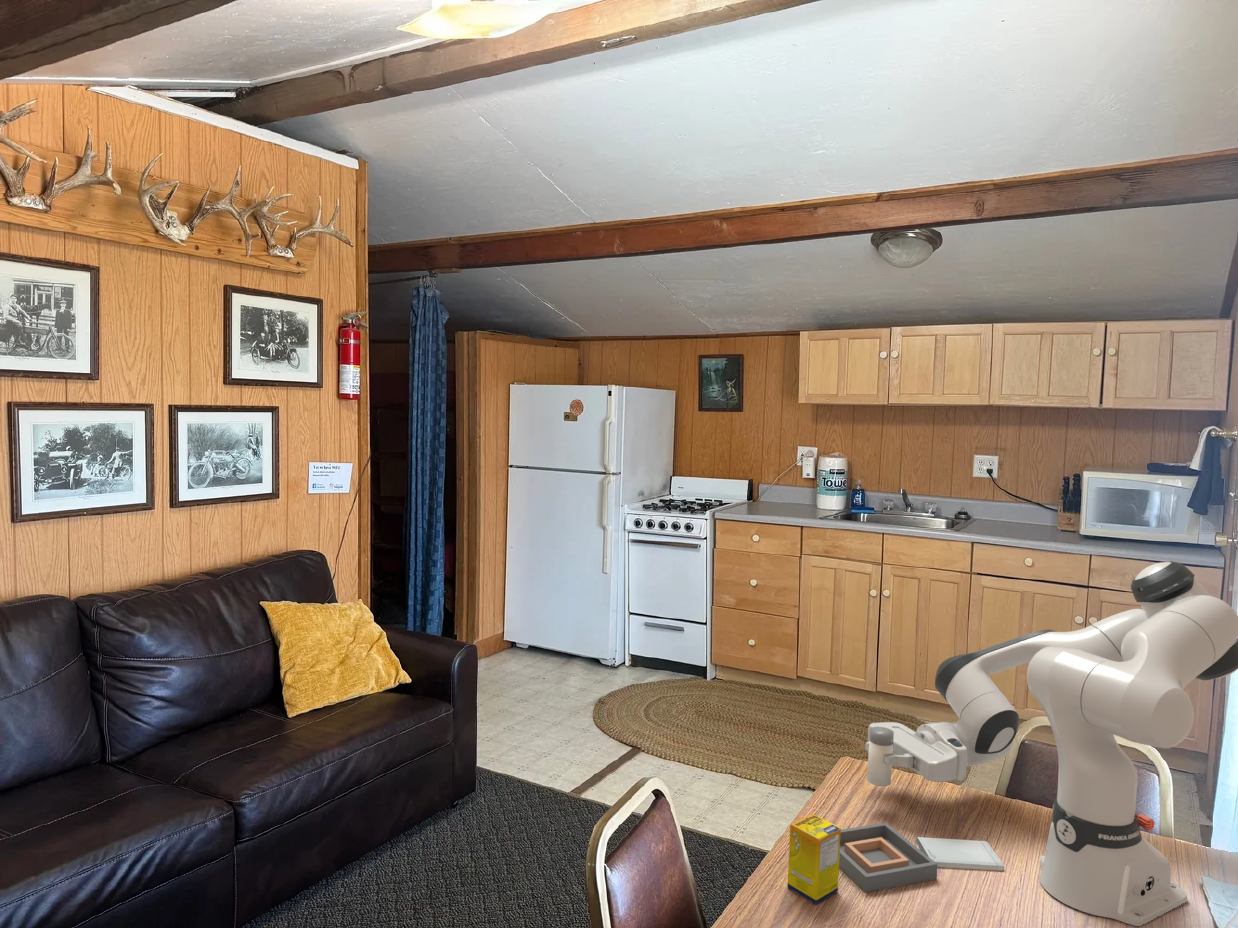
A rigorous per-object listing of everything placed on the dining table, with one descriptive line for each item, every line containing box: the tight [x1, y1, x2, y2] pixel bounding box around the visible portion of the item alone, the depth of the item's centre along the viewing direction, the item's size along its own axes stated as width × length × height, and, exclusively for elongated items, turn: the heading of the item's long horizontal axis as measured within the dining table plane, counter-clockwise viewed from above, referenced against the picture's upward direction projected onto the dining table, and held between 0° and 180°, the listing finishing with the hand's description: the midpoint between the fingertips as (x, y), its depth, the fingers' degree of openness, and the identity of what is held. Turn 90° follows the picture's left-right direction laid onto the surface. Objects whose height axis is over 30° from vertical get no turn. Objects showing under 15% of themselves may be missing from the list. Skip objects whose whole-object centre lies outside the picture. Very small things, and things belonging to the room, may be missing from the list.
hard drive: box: [915, 836, 1005, 872], centre depth 147 cm, size 2×8×12 cm
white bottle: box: [866, 727, 894, 787], centre depth 162 cm, size 4×4×10 cm
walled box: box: [839, 822, 938, 893], centre depth 144 cm, size 14×14×3 cm
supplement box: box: [787, 813, 842, 905], centre depth 135 cm, size 6×6×11 cm
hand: (876, 754), depth 162 cm, fingers closed on white bottle, 4 cm apart
